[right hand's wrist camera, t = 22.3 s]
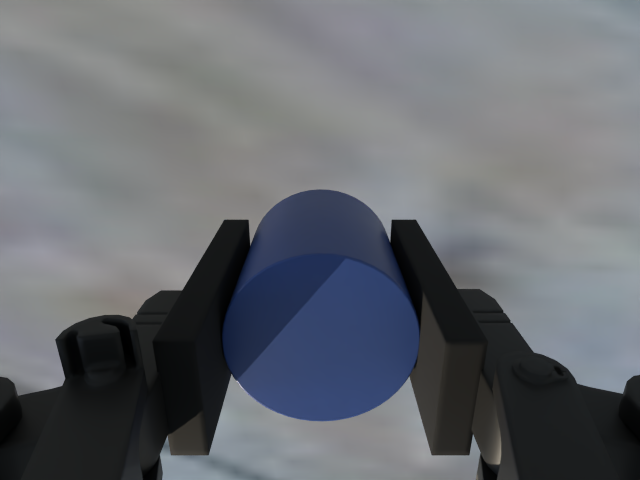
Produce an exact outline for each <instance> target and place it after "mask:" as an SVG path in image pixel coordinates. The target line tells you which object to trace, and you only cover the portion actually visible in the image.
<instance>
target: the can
mask: <svg viewBox="0 0 640 480" xmlns="http://www.w3.org/2000/svg"><path fill="white" fill-rule="evenodd" d="M419 341H420V324H419V319H418V316H417V313H416V310H415V307H414V305H413V302H412V299H411V297H410V294H409V291H408V289H407V286H406V283H405V281H404V278H403V275H402V273H401V270H400V268H399V265H398V262H397V260H396V257H395V254H394V252H393V249H392V246H391V244H390V241H389V238H388V236H387V233H386V231H385V228H384V226H383V224H382V222H381V221H380V220H379V218H378V217H377V215H376V214H375V213H374V212H373V211H372V210H371V209H370V208H369V207H368V206H367V205H365V204H364V203H363V202H361V201H359V200H358V199H356V198H354V197H352V196H350V195H348V194H345V193H341V192H338V191H332V190H309V191H304V192H300V193H297V194H294V195H292V196H290V197H288V198H286V199H284V200H282V201H281V202H279V203H278V204H276V205H275V206H274V207H273V208H272V209H271V210H270V211H269V212H268V213H267V214H266V215H265V216H264V218H263V219H262V221H261V222H260V224H259V226H258V228H257V230H256V233H255V235H254V238H253V241H252V243H251V246H250V249H249V251H248V254H247V257H246V259H245V262H244V265H243V268H242V270H241V273H240V276H239V278H238V281H237V284H236V286H235V289H234V292H233V295H232V297H231V300H230V303H229V305H228V308H227V311H226V314H225V317H224V321H223V326H222V347H223V352H224V357H225V360H226V362H227V365H228V368H229V370H230V371H231V373H232V375H233V377H234V378H235V380H236V381H237V382H238V384H239V385H240V386H241V387H242V388H243V390H244V391H245V392H246V393H247V394H248V395H250V396H251V397H252V398H253V399H255V400H256V401H257V402H259V403H260V404H262V405H263V406H265V407H267V408H269V409H271V410H273V411H275V412H277V413H280V414H282V415H285V416H288V417H292V418H296V419H301V420H309V421H334V420H341V419H346V418H350V417H354V416H357V415H360V414H363V413H365V412H367V411H370V410H372V409H374V408H375V407H377V406H379V405H381V404H382V403H384V402H385V401H386V400H388V399H389V398H390V397H391V396H393V395H394V394H395V393H396V392H397V391H398V390H399V389H400V388H401V387H402V385H403V384H404V383H405V382H406V380H407V379H408V377H409V376H410V374H411V372H412V370H413V368H414V366H415V364H416V361H417V357H418V351H419Z"/></svg>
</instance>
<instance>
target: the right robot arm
mask: <svg viewBox="0 0 640 480" xmlns="http://www.w3.org/2000/svg"><path fill="white" fill-rule="evenodd" d="M390 244H391V246H392V249H393V252H394V254H395V257H396V260H397V262H398V265H399V268H400V270H401V273H402V275H403V278H404V281H405V283H406V286H407V289H408V291H409V294H410V297H411V299H412V302H413V305H414V307H415V310H416V313H417V316H418V319H419V324H420V341H419V351H418V357H417V361H416V364H415V366H414V368H413V370H412V372H411V374H410V380H411V383H412V387H413V390H414V394H415V397H416V401H417V404H418V408H419V412H420V415H421V419H422V422H423V426H424V429H425V433H426V436H427V440H428V444H429V447H430V451H431V454H432V455H469V454H470V448H471V442H472V436H473V435H474V437H475V440H476V442H477V444H478V447H479V449H480V452H481V454H480V459H479V465H478V470H477V476H476V480H640V375H637V376H633V377H632V378H631V379H629V380H628V381H627V383H626V386H625V389H624V392H623V394H620V393H615V392H611V391H606V390H601V389H596V388H591V387H587V386H583V385H580V384H577V383H576V380H575V378H574V377H573V375H572V374H571V373H570V371H569V370H568V369H567V368H566V367H564V366H563V365H561V364H560V363H559V362H557V361H556V360H553V359H551V358H549V357H546V356H544V355H542V354H537V353H534V352H533V351H532V350H531V348H530V347H529V345H528V344H527V343H526V341H525V340H524V339H523V337H522V336H521V334H520V333H519V332H518V330H517V329H516V328H515V326H514V325H513V323H510V319H509V318H508V317H507V315H506V314H505V313H503V310H502V308H501V307H500V306H499V304H498V303H497V301H496V300H495V299H494V298H492V297H491V296H489V295H488V294H486V293H485V292H483V291H482V290H480V289H457V288H456V286H455V285H454V283H453V281H452V280H451V278H450V276H449V275H448V273H447V271H446V270H445V268H444V266H443V265H442V263H441V261H440V260H439V258H438V256H437V255H436V253H435V251H434V249H433V248H432V246H431V244H430V243H429V241H428V239H427V238H426V236H425V234H424V233H423V231H422V229H421V228H420V226H419V224H418V223H417V221H416V220H392V225H391V240H390ZM249 249H250V236H249V220H224V221H223V223H222V225H221V226H220V228H219V230H218V232H217V233H216V235H215V237H214V238H213V240H212V242H211V243H210V245H209V247H208V248H207V250H206V252H205V253H204V255H203V257H202V258H201V260H200V262H199V263H198V265H197V267H196V268H195V270H194V272H193V274H192V275H191V277H190V279H189V280H188V282H187V284H186V285H185V287H184V289H183V290H182V291H160V292H158V293H157V294H155V295H154V296H152V297H151V298H149V299H147V300H146V301H145V302H144V304H143V305H142V307H141V308H140V309H139V311H138V312H137V315H135V316H134V318H133V319H131V318H130V317H125V316H121V315H103V316H98V317H93V318H89V319H86V320H83V321H81V322H78V323H75V324H74V325H72V326H70V327H69V328H67V329H66V330H64V331H63V332H62V333H61V334H60V335H59V336H58V337H57V338H56V339H55V340H56V344H57V348H58V352H59V356H60V359H61V363H62V367H63V371H64V375H65V381H64V383H63V386H61V387H57V388H53V389H49V390H44V391H39V392H34V393H30V394H25V395H20V396H18V394H17V391H16V388H15V385H14V383H13V382H12V381H10V380H9V379H8V378H4V377H0V480H162V475H163V472H162V465H161V459H160V452H161V450H162V448H163V445H164V443H165V440H166V438H167V435H168V440H169V446H170V452H171V455H209V452H210V448H211V445H212V441H213V438H214V434H215V430H216V427H217V423H218V420H219V416H220V413H221V409H222V406H223V402H224V398H225V395H226V391H227V388H228V384H229V381H230V377H231V374H232V373H231V371H230V370H229V368H228V365H227V362H226V360H225V357H224V352H223V347H222V326H223V321H224V317H225V314H226V311H227V308H228V305H229V303H230V300H231V297H232V295H233V292H234V289H235V286H236V284H237V281H238V278H239V276H240V273H241V270H242V268H243V265H244V262H245V259H246V257H247V254H248V251H249Z"/></svg>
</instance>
